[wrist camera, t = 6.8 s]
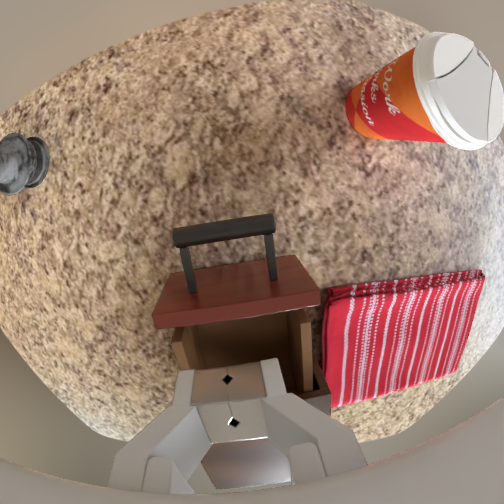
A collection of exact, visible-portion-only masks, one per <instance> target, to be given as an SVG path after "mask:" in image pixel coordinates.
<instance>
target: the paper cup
mask: <svg viewBox="0 0 504 504" xmlns="http://www.w3.org/2000/svg"><path fill="white" fill-rule="evenodd" d="M346 113H347V117H348V119H349V121H350V123H351V125H352V126H353V127H354V128H355V130H356V131H358V132H359V133H360V134H362V135H363V136H366V137H368V138H373V139H387V140H410V141H427V142H441V143H448V144H450V145H451V146H452V147H456V148H461V149H465V150H476V149H479V148H481V147H483V146H484V145H485V144H486V143H489V142H491V141H493V140H494V139H495V138H496V137H497V136H498V135H499V133H500V131H501V130H502V127H503V124H504V93H503V88H502V85H501V82H500V79H499V77H498V74H497V72H496V70H495V69H494V68H491V66H490V62H489V61H488V59H487V58H486V57H485V56H484V54H483V53H482V52H481V51H480V50H479V49H478V50H477V49H476V48H475V46H474V42H472V41H471V40H469V39H468V38H466V37H464V36H461V35H458V34H453V33H444V32H431V33H428V34H426V35H425V36H423V37H422V38H421V39H420V40H419V42H418V43H417V45H416V47H414V48H413V49H411V50H410V51H408V52H406V53H405V54H403V55H402V56H400V57H398V58H397V59H395V60H394V61H392V62H391V63H389V64H387V65H386V66H384V67H383V68H381V69H380V70H378V71H377V72H375V73H374V74H372V75H371V76H370V77H368V78H367V79H365V80H364V81H362V82H361V83H360V84H358V85H357V86H356V87H355V88H353V89H352V90H351V92H350V93H349V95H348V97H347V100H346Z"/></svg>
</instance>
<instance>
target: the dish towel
mask: <svg viewBox="0 0 504 504" xmlns="http://www.w3.org/2000/svg"><path fill="white" fill-rule="evenodd" d="M484 280H485V275H484V274H483V273H482V270H470V271H458V272H451V273H442V274H435V275H429V276H422V277H412V278H408V279H399V280H393V281H382V282H372V283H364V284H356V285H346V286H343V287H342V286H337V287H329V288H328V290H327V291H328V297H327V301H326V303H325V306H324V316H323V322H322V355H321V364H320V368H321V370H322V372H323V375H324V377H325V379H326V382H327V384H328V386H329V388H330V391H331V393H332V398H331V408H334V407H340V406H342V405H347V404H352V403H357V402H360V401H364V400H368V399H372V398H375V397H378V396H383V395H386V394H390V393H393V392H397V391H399V390H403V389H406V388H409V387H412V386H416V385H420V384H422V383H424V382H427V381H431V380H433V379H436V378H440V377H443V376H446V375H448V374H450V373H453V372H455V371H456V370H457V367H458V364H459V361H460V358H461V355H462V353H463V350H464V348H465V345H466V342H467V339H468V336H469V332H470V329H471V326H472V322H473V319H474V315H475V311H476V307H477V304H478V299H479V296H480V293H481V290H482V287H483V283H484Z"/></svg>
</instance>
